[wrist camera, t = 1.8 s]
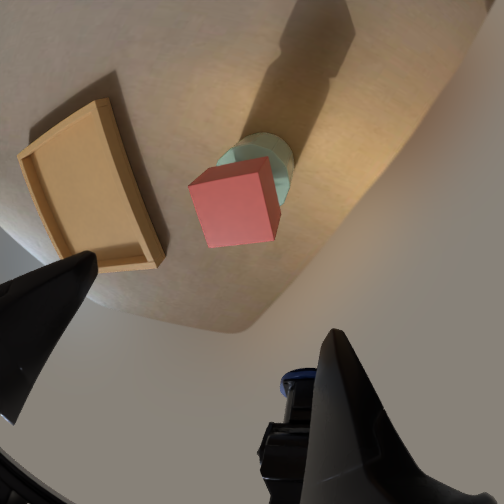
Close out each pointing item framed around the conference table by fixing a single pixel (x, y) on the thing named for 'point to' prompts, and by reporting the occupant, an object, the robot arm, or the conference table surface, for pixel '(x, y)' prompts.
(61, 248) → the tray
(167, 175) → the conference table surface
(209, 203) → the cube with green stem
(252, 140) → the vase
